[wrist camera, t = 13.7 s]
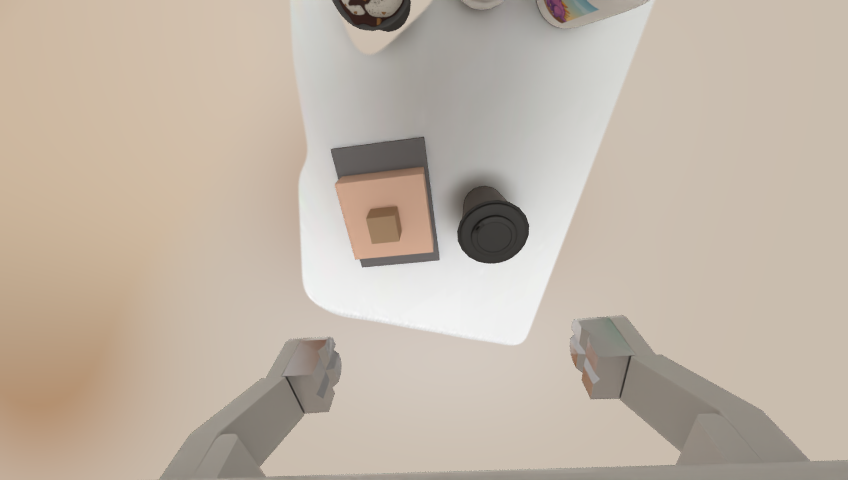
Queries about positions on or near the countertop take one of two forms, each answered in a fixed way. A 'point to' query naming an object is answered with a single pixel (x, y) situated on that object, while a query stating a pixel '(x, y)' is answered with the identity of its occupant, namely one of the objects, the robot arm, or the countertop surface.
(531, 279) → the countertop surface
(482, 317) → the countertop surface
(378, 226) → the cover
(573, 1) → the milk bottle
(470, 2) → the plastic bottle
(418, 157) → the mat
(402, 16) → the sundae
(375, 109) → the countertop surface
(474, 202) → the coffee cup
